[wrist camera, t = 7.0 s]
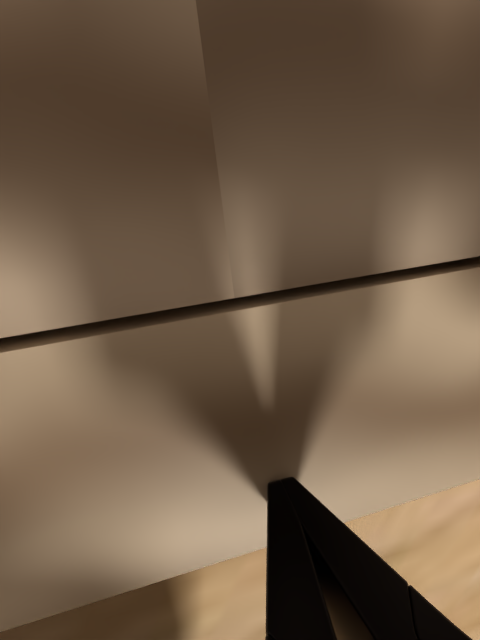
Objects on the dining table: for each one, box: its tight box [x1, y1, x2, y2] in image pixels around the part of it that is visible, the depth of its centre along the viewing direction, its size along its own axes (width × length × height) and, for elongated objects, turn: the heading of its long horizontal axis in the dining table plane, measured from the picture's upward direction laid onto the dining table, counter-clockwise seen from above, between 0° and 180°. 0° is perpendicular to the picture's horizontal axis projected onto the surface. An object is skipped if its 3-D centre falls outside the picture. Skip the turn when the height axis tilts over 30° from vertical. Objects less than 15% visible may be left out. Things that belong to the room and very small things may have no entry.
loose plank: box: [0, 256, 480, 632], centre depth 8 cm, size 8×22×2 cm, turn 97°
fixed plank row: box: [0, 0, 480, 338], centre depth 6 cm, size 8×22×2 cm, turn 97°
